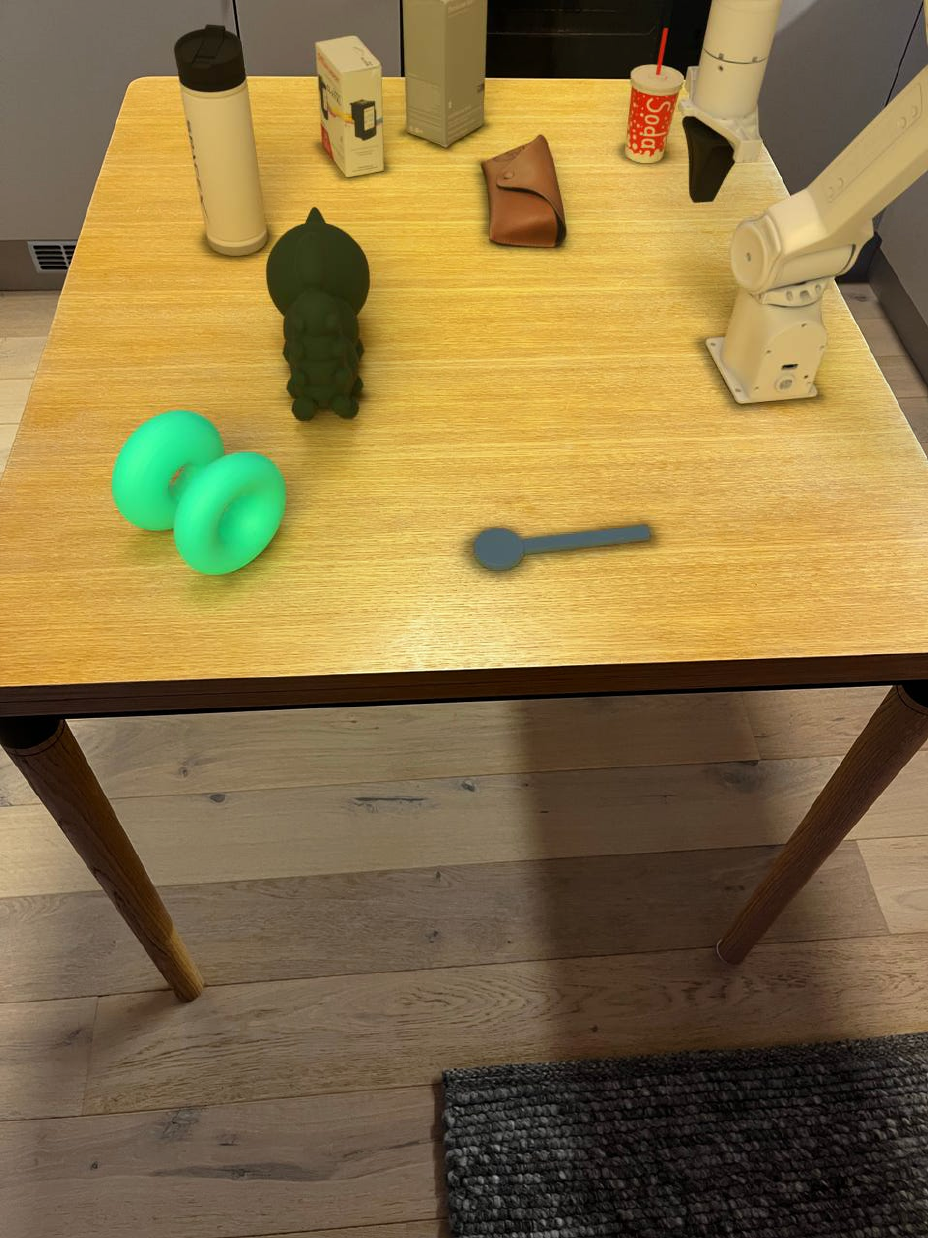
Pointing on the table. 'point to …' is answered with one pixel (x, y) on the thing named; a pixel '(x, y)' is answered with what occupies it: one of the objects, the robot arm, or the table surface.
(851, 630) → the table surface
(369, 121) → the ink box
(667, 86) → the beverage cup
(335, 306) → the toy figurine
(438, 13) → the cosmetic box
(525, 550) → the spoon
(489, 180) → the sunglasses case
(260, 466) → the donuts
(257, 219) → the travel mug
